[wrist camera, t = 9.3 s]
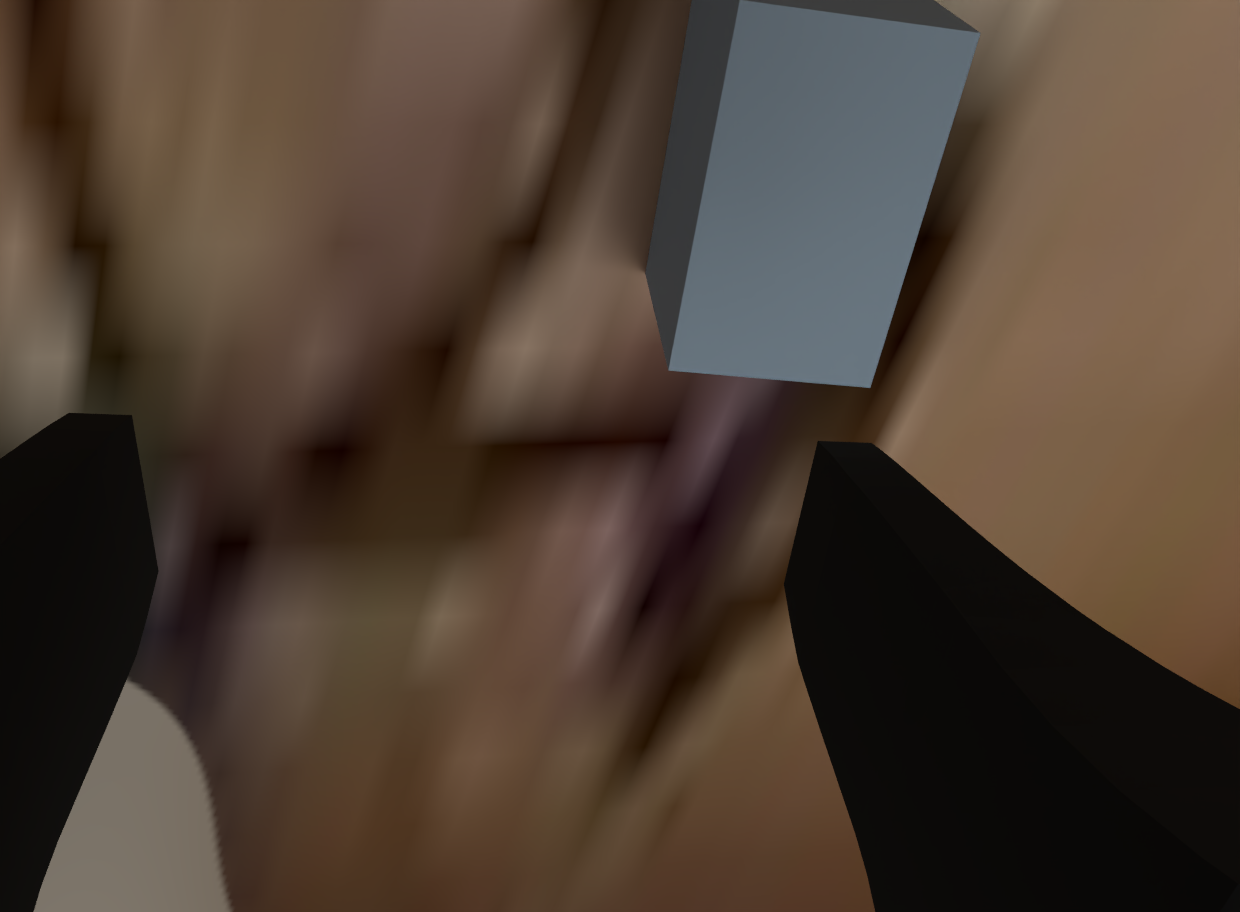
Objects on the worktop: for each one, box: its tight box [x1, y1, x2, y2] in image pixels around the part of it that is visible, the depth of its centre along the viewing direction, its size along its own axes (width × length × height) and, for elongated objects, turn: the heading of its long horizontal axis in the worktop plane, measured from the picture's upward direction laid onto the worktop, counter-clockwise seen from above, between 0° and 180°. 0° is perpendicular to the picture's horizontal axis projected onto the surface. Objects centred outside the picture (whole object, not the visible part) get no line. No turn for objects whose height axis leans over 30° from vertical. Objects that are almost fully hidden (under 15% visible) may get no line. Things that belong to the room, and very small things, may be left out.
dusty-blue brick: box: [645, 0, 980, 388], centre depth 19 cm, size 4×6×4 cm, turn 172°
